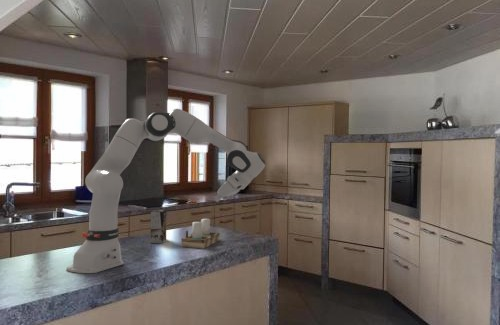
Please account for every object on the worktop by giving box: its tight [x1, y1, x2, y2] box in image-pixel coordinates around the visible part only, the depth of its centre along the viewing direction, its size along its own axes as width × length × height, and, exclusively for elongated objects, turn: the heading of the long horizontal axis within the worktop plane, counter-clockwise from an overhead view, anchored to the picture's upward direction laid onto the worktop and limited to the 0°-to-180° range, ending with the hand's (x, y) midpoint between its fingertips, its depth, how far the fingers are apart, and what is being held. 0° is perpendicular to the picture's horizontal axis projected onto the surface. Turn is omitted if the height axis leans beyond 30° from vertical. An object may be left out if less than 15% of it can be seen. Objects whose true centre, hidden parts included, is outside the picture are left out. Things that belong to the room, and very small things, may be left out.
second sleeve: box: [200, 218, 211, 235], centre depth 208 cm, size 5×5×9 cm
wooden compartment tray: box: [181, 230, 221, 250], centre depth 204 cm, size 20×12×7 cm, turn 162°
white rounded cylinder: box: [191, 221, 202, 240], centre depth 198 cm, size 5×5×9 cm
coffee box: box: [150, 209, 167, 244], centre depth 208 cm, size 9×6×16 cm
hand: (219, 199), depth 194 cm, fingers open, 8 cm apart
